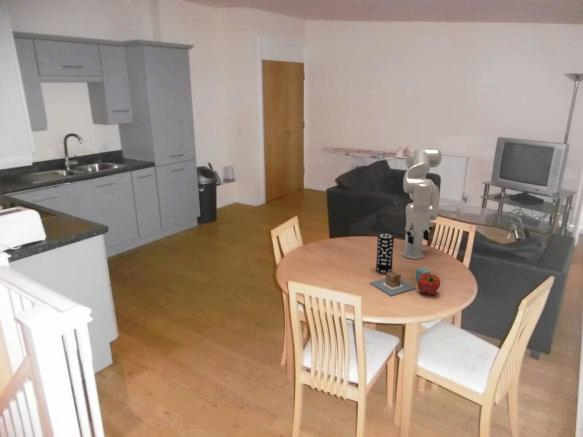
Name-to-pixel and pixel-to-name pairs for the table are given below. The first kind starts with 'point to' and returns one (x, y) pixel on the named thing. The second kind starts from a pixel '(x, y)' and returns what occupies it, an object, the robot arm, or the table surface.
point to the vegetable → (428, 283)
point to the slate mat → (392, 291)
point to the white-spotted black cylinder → (384, 253)
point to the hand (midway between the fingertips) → (418, 241)
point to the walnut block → (393, 279)
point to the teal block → (421, 272)
